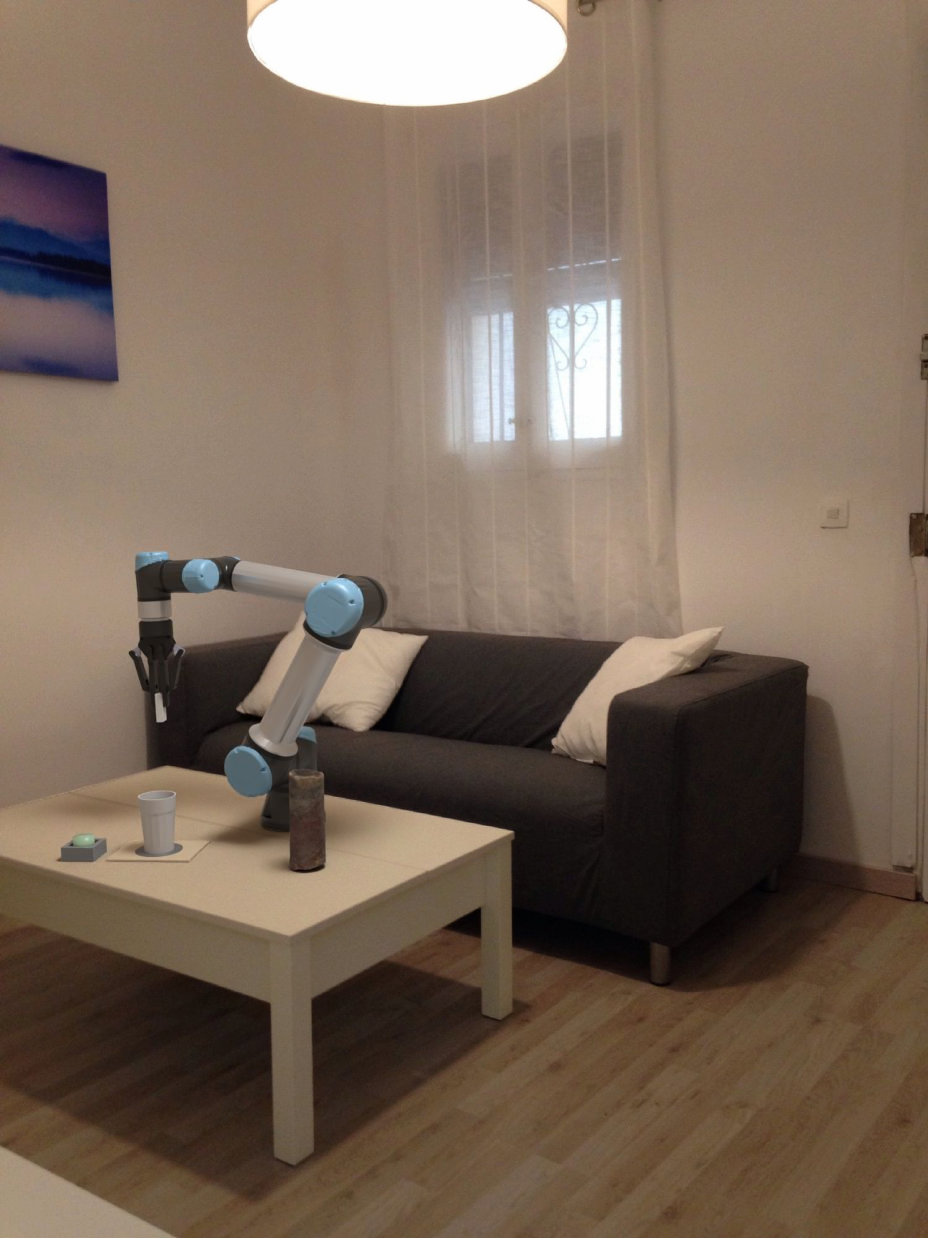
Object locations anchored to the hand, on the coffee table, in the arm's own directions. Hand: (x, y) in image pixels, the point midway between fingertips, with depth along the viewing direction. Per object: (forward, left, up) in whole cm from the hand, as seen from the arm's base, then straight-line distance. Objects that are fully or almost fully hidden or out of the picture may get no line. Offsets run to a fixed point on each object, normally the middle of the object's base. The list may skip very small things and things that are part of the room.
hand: (161, 720), depth 257 cm
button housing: (+10, +22, -25) cm, 35 cm away
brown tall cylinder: (-40, +27, -26) cm, 54 cm away
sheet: (-5, +18, -25) cm, 31 cm away
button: (+10, +22, -24) cm, 34 cm away
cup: (-5, +18, -25) cm, 31 cm away
